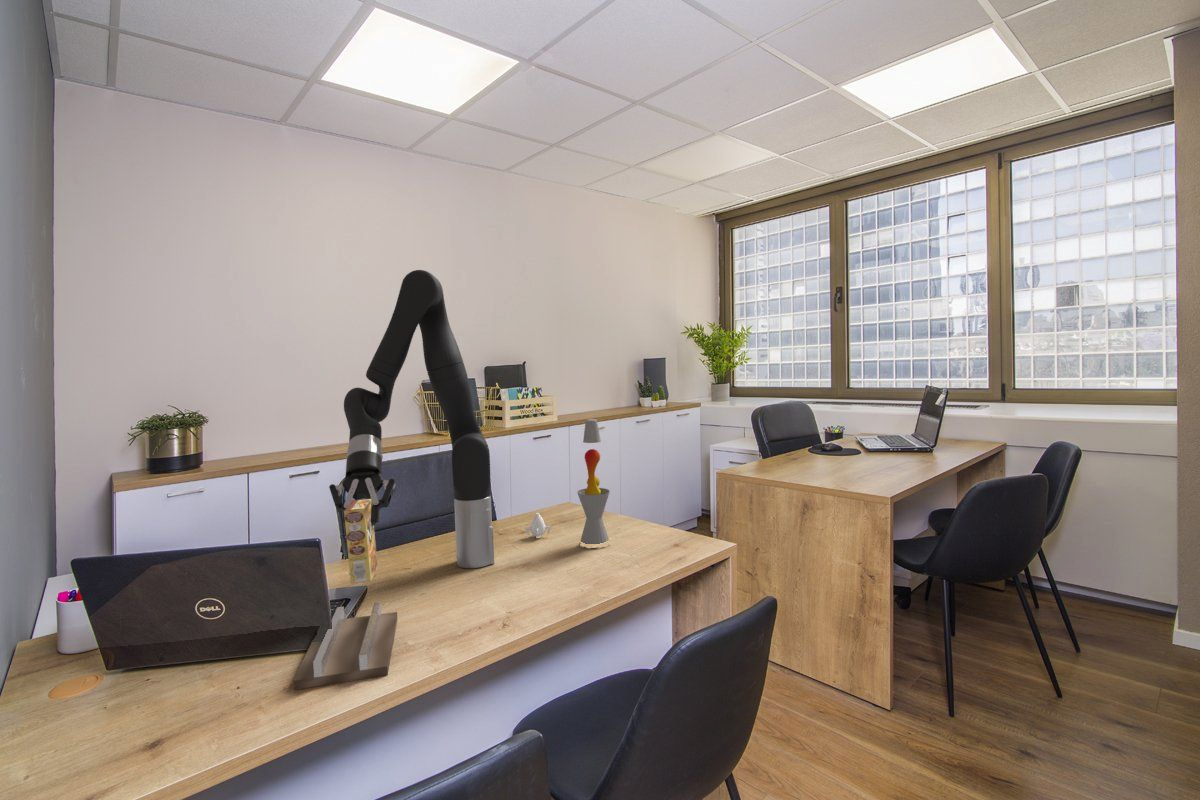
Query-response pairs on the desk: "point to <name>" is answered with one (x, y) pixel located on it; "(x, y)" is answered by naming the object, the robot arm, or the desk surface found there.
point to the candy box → (360, 541)
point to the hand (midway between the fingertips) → (361, 524)
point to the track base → (349, 650)
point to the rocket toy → (537, 526)
